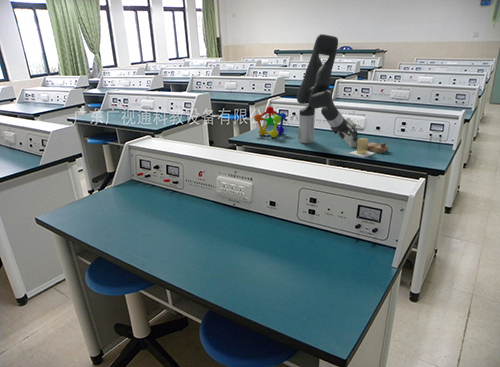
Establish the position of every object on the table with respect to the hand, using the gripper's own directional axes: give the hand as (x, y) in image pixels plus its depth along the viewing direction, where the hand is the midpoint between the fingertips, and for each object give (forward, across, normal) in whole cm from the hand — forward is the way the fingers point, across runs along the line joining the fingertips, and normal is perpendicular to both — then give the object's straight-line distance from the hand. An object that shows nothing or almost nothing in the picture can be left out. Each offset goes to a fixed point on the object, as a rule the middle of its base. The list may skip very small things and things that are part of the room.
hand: (350, 138), depth 191 cm
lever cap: (+15, 0, -1) cm, 15 cm away
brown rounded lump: (+23, 0, -8) cm, 24 cm away
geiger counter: (+25, +22, -10) cm, 35 cm away
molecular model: (+10, +70, +6) cm, 71 cm away
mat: (+15, 0, 0) cm, 15 cm away
